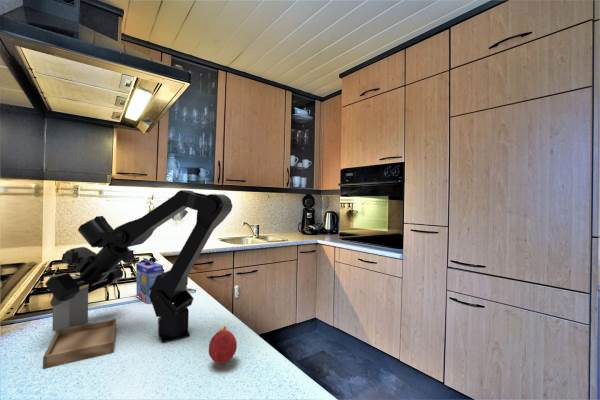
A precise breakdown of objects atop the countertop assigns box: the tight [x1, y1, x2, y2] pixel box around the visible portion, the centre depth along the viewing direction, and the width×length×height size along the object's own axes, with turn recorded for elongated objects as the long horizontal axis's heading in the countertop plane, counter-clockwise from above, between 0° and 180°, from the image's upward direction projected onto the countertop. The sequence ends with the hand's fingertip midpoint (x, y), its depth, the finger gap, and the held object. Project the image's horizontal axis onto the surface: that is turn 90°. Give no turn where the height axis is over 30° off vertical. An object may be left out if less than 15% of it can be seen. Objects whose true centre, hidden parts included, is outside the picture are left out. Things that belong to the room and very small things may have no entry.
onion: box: [208, 325, 238, 366], centre depth 59 cm, size 6×6×8 cm
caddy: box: [51, 275, 89, 332], centre depth 76 cm, size 5×6×13 cm
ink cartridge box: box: [135, 257, 164, 305], centre depth 97 cm, size 10×6×14 cm, turn 51°
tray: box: [42, 318, 117, 369], centre depth 66 cm, size 12×14×2 cm
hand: (69, 298), depth 76 cm, fingers open, 9 cm apart
